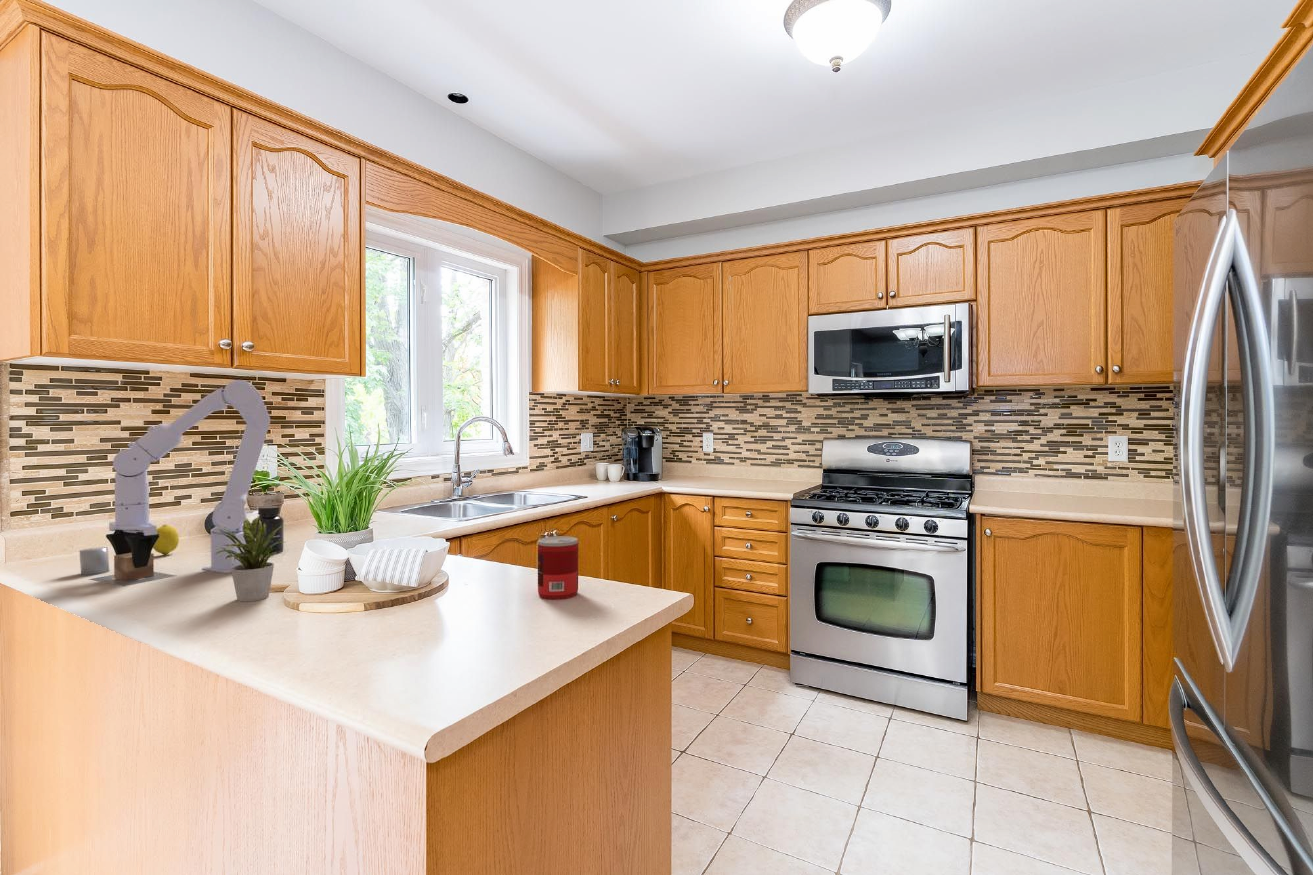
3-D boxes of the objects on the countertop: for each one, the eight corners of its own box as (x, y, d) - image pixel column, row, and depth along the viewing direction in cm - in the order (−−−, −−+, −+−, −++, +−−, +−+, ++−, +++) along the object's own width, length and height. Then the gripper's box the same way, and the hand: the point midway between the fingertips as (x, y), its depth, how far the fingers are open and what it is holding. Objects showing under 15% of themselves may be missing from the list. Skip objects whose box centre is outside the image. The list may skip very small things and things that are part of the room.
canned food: (586, 594, 125) (586, 539, 124) (554, 602, 119) (553, 544, 119) (562, 587, 130) (561, 534, 130) (530, 595, 124) (529, 539, 124)
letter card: (177, 576, 139) (177, 575, 139) (123, 587, 130) (123, 586, 130) (141, 570, 145) (141, 569, 145) (88, 580, 136) (88, 579, 136)
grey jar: (112, 571, 142) (111, 547, 142) (85, 576, 138) (83, 552, 138) (105, 570, 145) (103, 546, 145) (77, 574, 141) (76, 550, 141)
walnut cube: (153, 575, 139) (153, 553, 138) (126, 581, 134) (126, 557, 134) (141, 573, 141) (141, 551, 141) (114, 578, 136) (114, 555, 136)
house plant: (196, 597, 122) (195, 513, 122) (276, 584, 132) (275, 507, 132) (214, 612, 112) (213, 521, 112) (299, 596, 123) (298, 513, 122)
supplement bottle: (273, 554, 162) (273, 508, 162) (247, 554, 163) (247, 508, 162) (289, 549, 169) (289, 505, 169) (264, 549, 169) (263, 505, 169)
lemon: (184, 553, 164) (184, 523, 164) (165, 558, 159) (165, 526, 158) (165, 553, 165) (164, 522, 164) (145, 557, 159) (145, 526, 159)
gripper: (92, 504, 136) (93, 566, 137) (129, 507, 130) (130, 572, 131) (130, 500, 143) (131, 559, 143) (167, 503, 137) (168, 565, 137)
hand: (133, 565), depth 137 cm, fingers open, 5 cm apart
